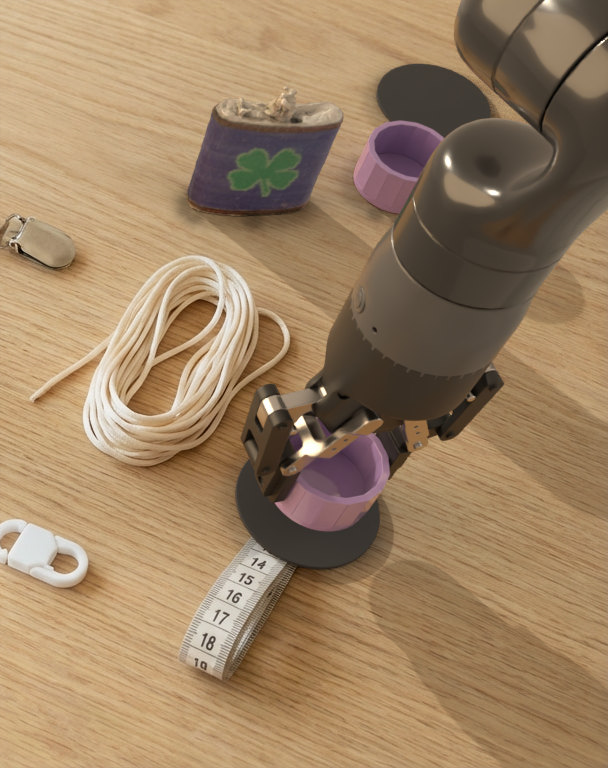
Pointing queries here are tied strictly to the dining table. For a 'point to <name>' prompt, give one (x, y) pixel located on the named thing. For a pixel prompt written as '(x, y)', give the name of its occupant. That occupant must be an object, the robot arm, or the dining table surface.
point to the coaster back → (431, 97)
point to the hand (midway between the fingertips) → (323, 478)
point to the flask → (262, 155)
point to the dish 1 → (338, 485)
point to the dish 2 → (394, 163)
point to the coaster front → (300, 530)
